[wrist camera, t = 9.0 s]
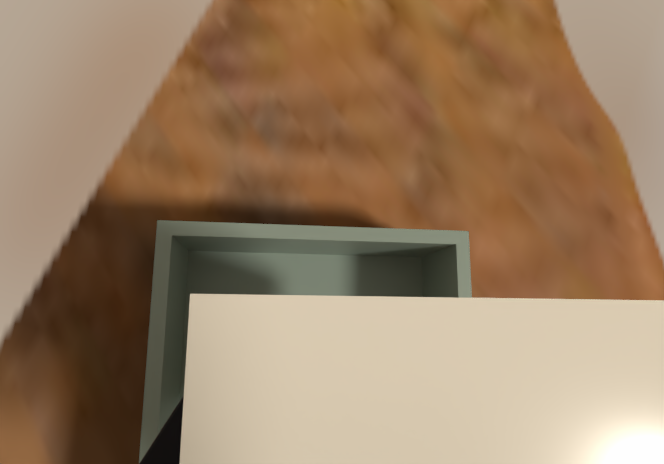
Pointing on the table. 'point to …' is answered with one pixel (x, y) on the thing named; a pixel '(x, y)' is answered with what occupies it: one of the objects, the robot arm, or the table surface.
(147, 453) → the robot arm
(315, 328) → the tile stack
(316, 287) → the box
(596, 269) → the table surface
